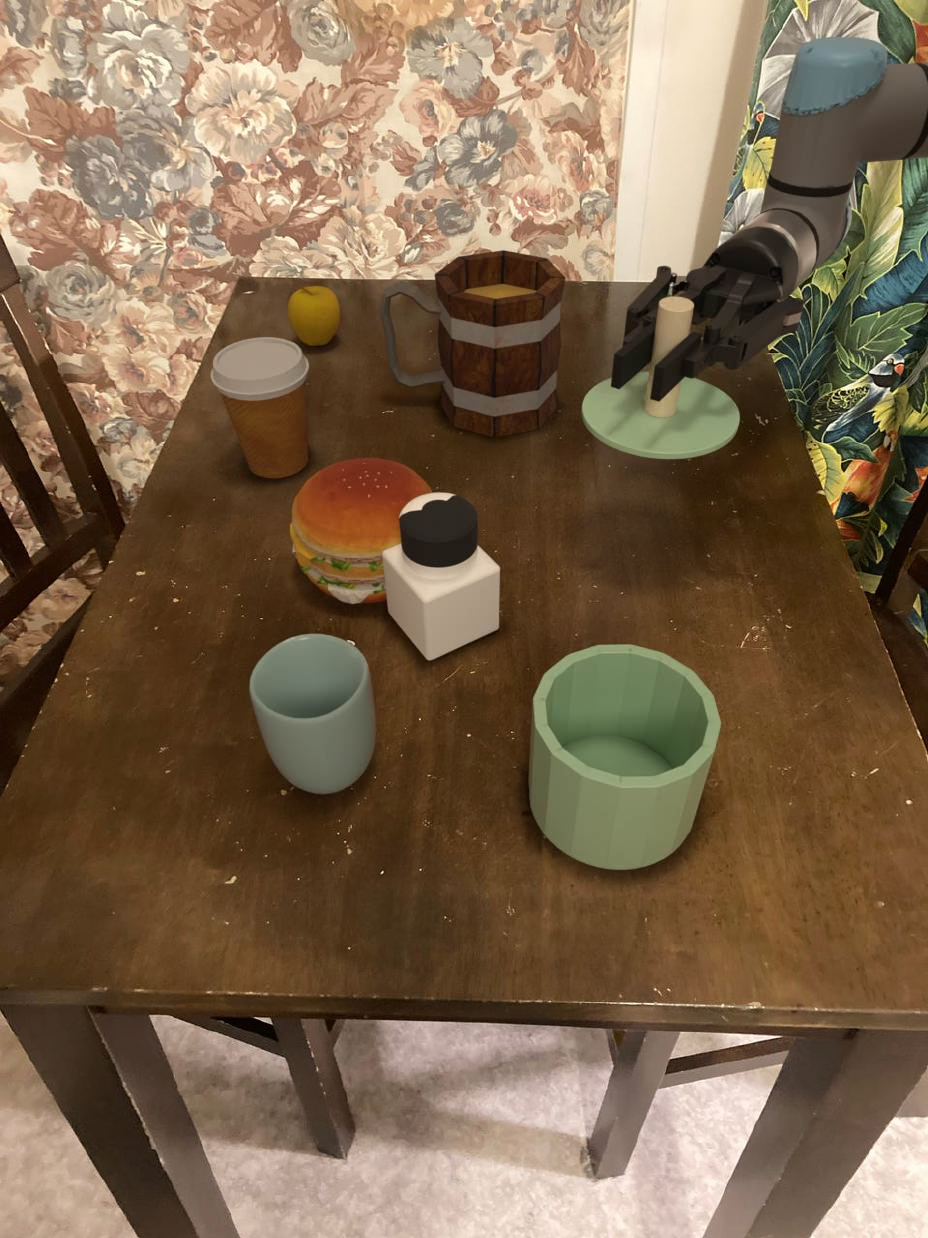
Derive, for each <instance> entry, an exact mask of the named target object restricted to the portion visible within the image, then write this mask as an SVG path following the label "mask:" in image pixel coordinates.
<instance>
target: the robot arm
mask: <svg viewBox="0 0 928 1238" xmlns="http://www.w3.org/2000/svg"><path fill="white" fill-rule="evenodd" d="M887 61H888V50H887V48H886V46H885V45H884V44H883V43H881V42H879V41H877V40H874V39H870V38H863V37H856V36H855V37H854V36H849V37H844V36H825V37H819V38H814V39H812V40H810V41H807V42H806V43H804V44H803V45H802V46H801V47H800V48H799V49H798V51H797V52H796V54H795V56H794V59H793V63H792V66H791V69H790V72H789V75H788V79H787V82H786V87H785V89H784V93H783V97H782V101H781V108H780V115H779V121H778V125H777V126H778V127H777V131H776V137H775V142H774V148H773V153H772V159H771V165H770V168H769V169H770V170H769V172H768V176H767V179H766V183H765V186H764V191H763V192H764V193H763V198H762V203H761V206H760V211H759V213H758V214H757V215H755V216H754V217H753V219H751V220H750V221H749V222H747V223H746V224H745V225H744V226H742V227H741V228H740V229H738V230H737V231H735V232H734V233H733V234H732V235H731V236H730V237H728V239H726V240H725V241H724V242H722V243H721V244H720V245H719V246H717V247H716V248H715V249H714V250H713V251H712V252H711V254H710V255H709V256H708V258H707V260H706V261H705V262H704V264H703V265H702V266H701V267H698V268H695V269H691V270H689V272H687V274H686V275H678V273H677V272H672V268H671V267H670V266H668V265H660V266H657V267H656V274H655V278H654V279H652V281H651V282H650V283H649V284H648V285H647V286H646V287H645V289H644V290H642V292H641V293H640V294H639V295H638V296H637V297H636V298H635V299H634V300H633V301H632V302H631V303H630V305H628V306H627V308H626V314H625V315H626V316H625V324H624V332H623V333H624V334H623V341H622V346H621V347H620V348H619V349H618V350H617V351H616V352H614V353H613V362H612V369H611V378H612V379H611V387H613V388H616V389H621V388H622V387H623V386H624V385H625V384H626V383H627V382H628V381H630V380H631V379H632V378H633V377H634V376H635V375H636V374H637V373H639V372H642V370H643V369H644V368H646V366H648V365H650V363H651V356H652V349H653V341H654V334H655V327H656V320H657V313H658V306H659V302H660V300H662V299H663V298H666V297H675V296H676V297H683V298H686V299H689V300H691V301H692V302H693V303H694V309H693V315H692V321H691V325H693V326H699V325H701V324H702V323H704V321H706V320H708V319H713V320H712V321H711V323H709V325H708V323H707V322H706V323H705V328H704V333H701V332H697V331H694V330H693V331H692V332H690V333H689V335H688V336H687V337H686V338H685V339H684V340H683V341H682V342H681V343H680V344H678V345H677V346H676V347H675V348H674V349H673V350H672V351H671V352H670V353H669V354H667V355H666V356H665V357H664V358H663V359H662V360H661V361H660V362H659V363H657V364H656V365H655V369H654V375H653V382H652V389H651V396H650V399H651V400H655V401H658V402H660V401H661V400H662V399H663V398H664V397H665V396H666V395H667V394H668V393H669V392H670V391H671V390H672V389H673V388H674V387H675V386H676V385H677V384H678V383H679V382H680V381H681V380H682V379H683V378H684V377H687V378H691V379H693V378H697V377H699V376H700V374H701V373H703V372H704V371H705V370H706V369H707V368H708V367H709V368H710V367H714V365H715V364H716V363H723V367H724V368H725V369H728V370H732V371H733V370H738V369H740V368H741V367H742V366H743V365H744V364H746V363H747V362H749V361H750V360H751V359H752V358H754V357H755V356H756V355H758V354H759V353H760V352H761V351H763V350H764V349H765V348H767V347H768V346H770V345H771V344H772V343H773V342H774V341H776V340H777V339H779V338H780V337H783V336H786V335H789V334H791V333H795V332H797V331H798V329H799V324H800V320H801V317H802V313H803V309H804V305H805V300H804V299H803V298H800V297H791V298H789V297H790V296H791V295H792V294H793V293H794V292H795V291H796V290H797V289H798V288H800V286H801V285H802V284H804V282H805V281H806V280H807V279H808V278H809V276H810V275H812V273H814V272H815V271H816V270H817V269H818V268H819V267H820V266H822V265H823V264H825V263H826V262H827V261H828V260H830V258H831V257H832V256H833V255H834V254H835V253H836V250H838V249H840V247H841V245H842V243H843V241H844V240H845V238H846V236H847V234H848V233H849V230H850V227H851V225H852V220H853V210H852V205H851V201H850V194H851V189H852V188H853V184H854V180H855V176H856V174H857V171H858V168H859V165H860V164H867V163H878V162H880V163H881V162H890V161H892V162H893V161H905V160H911V159H912V160H913V159H927V158H928V62H927V61H926V62H907V63H893V64H887ZM680 292H682V293H680ZM679 293H680V294H679ZM702 336H703V338H702Z"/></svg>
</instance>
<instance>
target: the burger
mask: <svg viewBox="0 0 928 1238" xmlns="http://www.w3.org/2000/svg"><path fill="white" fill-rule="evenodd" d="M429 493H433V490H432V488H431V487H430V485H429V484H428V483H427V482H426V480H424V479H423V478H422V477H421V476H420V475H419V474H418V473H417V472H416V471H415V470H413V469H412V468H410V467H408V466H407V465H404V464H403V463H400V462H397V461H394V460H391V459H385V458H380V457H360V458H350V459H345V460H343V461H339V462H335V463H332V464H330V465H328V466H326V467H325V468H322V469H321V470H319V471H317V472H316V473H315V474H313V475H312V476H311V477H309V478H308V479H307V480H306V481H305V483H304V484H303V486H302V487H301V488H300V490H299V491H298V493H297V494H296V495H295V496H294V500H293V504H292V506H291V507H292V508H291V522H290V524H289V528H290V529H289V533H290V539H291V541H292V543H293V545H292V552H291V553H292V554H293V555H294V557H295V559H296V560H297V564H298V566H299V568H300V570H301V572H302V573H303V574H305V575H306V576H307V578H308V579H309V580H310V581H311V583H313V584H314V585H315V586H316V587H317V588H318V589H319V590H321V591H322V592H323V593H325V594H326V595H327V596H329V597H332V598H334V599H337V600H339V602H343V603H348V604H351V605H354V604H372V603H375V604H376V603H381V602H385V601H386V602H387V596H386V587H385V577H384V568H383V559H382V552H383V551H384V550H386V549H389V548H391V547H394V546H396V545H399V544H401V535H400V524H399V516H400V513H401V511H402V509H403V508H404V507H405V506H406V505H407V504H408V503H409V502H410V501H411V500H413V499H415V498H417V497H419V496H422V495H425V494H429Z"/></svg>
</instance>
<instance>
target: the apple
mask: <svg viewBox="0 0 928 1238" xmlns="http://www.w3.org/2000/svg"><path fill="white" fill-rule="evenodd" d="M299 288H300V289H298V290H296V291H294V293H293V294H292V295H291V297H290V298H289V300H288V305H287V316H288V320H289V324H290V326H291V327H292V329H293V331H294V332H295V334H296V335H297V338H298V339H299V340H300V341H301V342H302V343H303V344H306V345H308V346H309V347H317V346H321V347H322V346H326V345H327V344H329V342H330V341H331V340H332V339H333V337H334V336H335V334H336V333H337V330H338V328H339V326H340V321H341V308H340V303H339V300H338V297H337V295H336V294H335V293H334V292H333V291H332V290H331V289H330V288H329V287H326V286H322V285H310V286H305V287H303V286H301V285H299Z"/></svg>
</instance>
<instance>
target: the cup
mask: <svg viewBox="0 0 928 1238" xmlns="http://www.w3.org/2000/svg"><path fill="white" fill-rule="evenodd" d="M248 685H249V686H248V687H249V689H248V693H249V697H250V701H251V702H250V703H251V705H252V710H253V713H254V716H255V719H256V722H257V726H258V728H259V732H260V736H261V738H262V740H263V744H264V746H265V749H266V752H267V753H268V756H269V758H270V760H271V761H272V763H273V765H274V766H275V768H276V769H277V771H278V772H279V774H280V775H281V776H282V777H283V778H284V779H285V780H287V781H288V783H290V784H291V785H293V786H294V787H296V788H298V789H300V790H302V791H305V792H307V793H311V794H315V795H332V794H336V793H339V792H342V791H344V790H346V789H348V788H349V787H351V786H352V785H353V784H354V783H356V782H357V781H358V780H359V779H360V778H361V776H363V774H364V773H365V771H366V770H367V769H368V767H369V765H370V763H371V760H372V758H373V755H374V752H375V748H376V741H377V715H376V704H375V697H374V688H373V682H372V675H371V671H370V666H369V664H368V662H367V659H366V657H365V655H364V654H363V653H362V652H361V651H360V649H359V648H357V647H356V646H354V645H353V644H351V643H350V642H348V641H346V640H344V639H343V638H341V637H337V636H333V635H330V634H324V633H306V634H300V635H296V636H292V637H289V638H287V639H285V640H283V641H281V642H279V643H278V644H276V645H275V646H273V647H271V649H269V650H268V651H267V652H265V654H263V656H262V657H261V658H260V659H259V661H258V662H257V663H256V665H255V667H254V668H253V670H252V672H251V675H250V678H249V683H248Z"/></svg>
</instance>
